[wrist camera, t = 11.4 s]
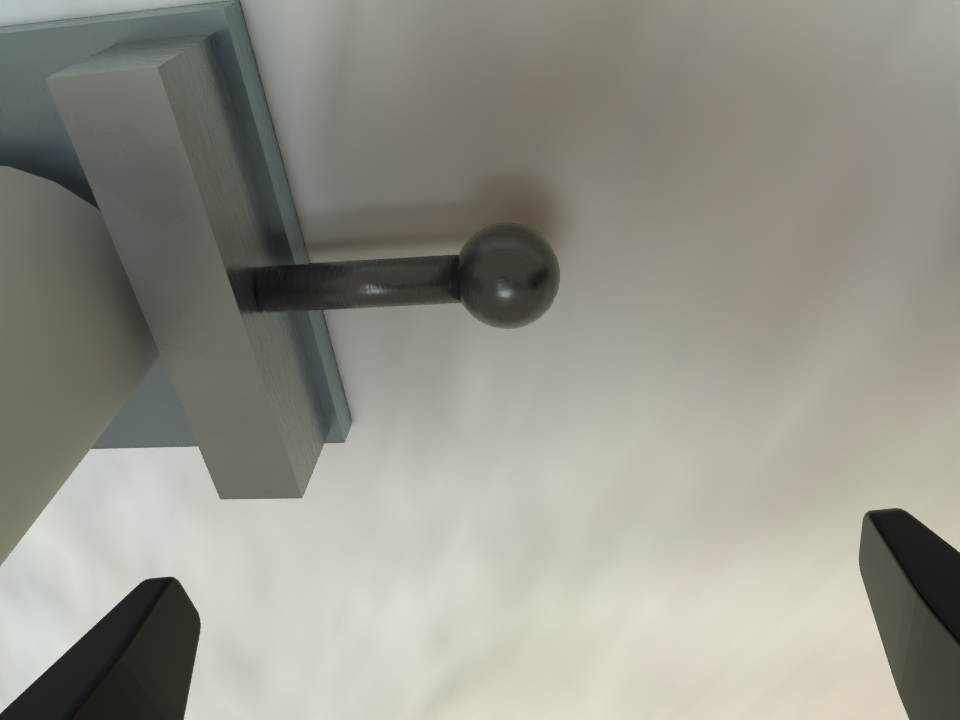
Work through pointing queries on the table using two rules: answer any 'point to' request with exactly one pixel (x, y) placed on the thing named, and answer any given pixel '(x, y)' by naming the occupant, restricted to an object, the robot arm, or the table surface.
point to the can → (58, 342)
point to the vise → (222, 237)
